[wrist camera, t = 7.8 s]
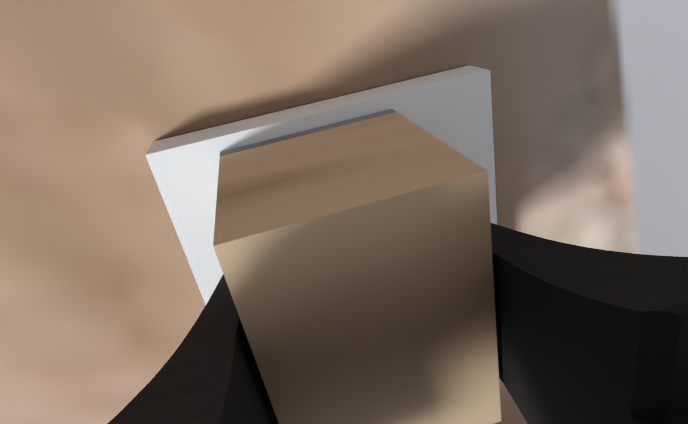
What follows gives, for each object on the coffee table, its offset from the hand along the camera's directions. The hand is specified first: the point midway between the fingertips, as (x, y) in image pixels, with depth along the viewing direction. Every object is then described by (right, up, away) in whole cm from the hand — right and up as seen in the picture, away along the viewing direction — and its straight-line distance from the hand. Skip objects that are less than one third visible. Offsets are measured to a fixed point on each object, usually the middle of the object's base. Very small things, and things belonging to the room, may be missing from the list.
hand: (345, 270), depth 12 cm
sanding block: (0, +1, +1) cm, 1 cm away
